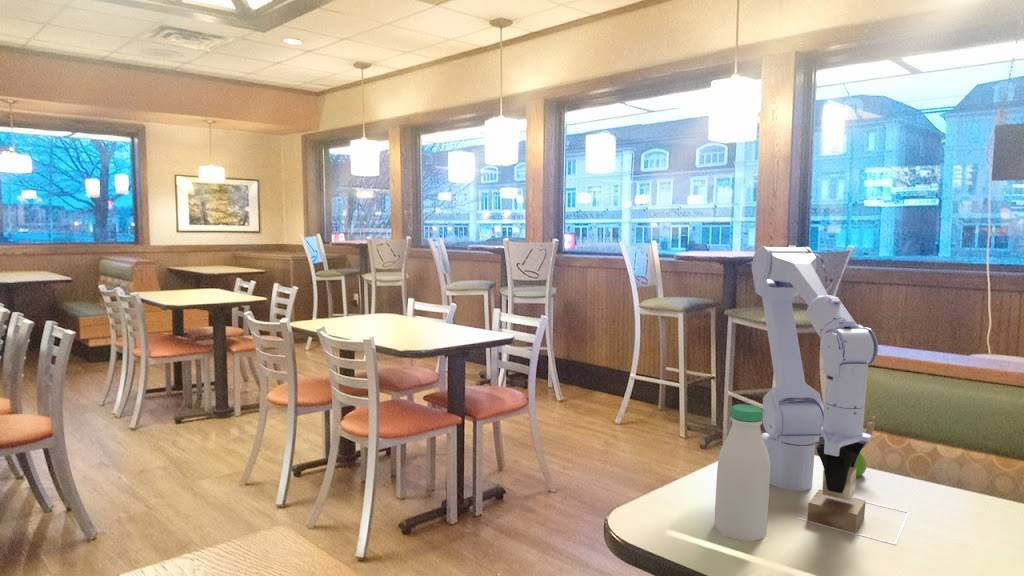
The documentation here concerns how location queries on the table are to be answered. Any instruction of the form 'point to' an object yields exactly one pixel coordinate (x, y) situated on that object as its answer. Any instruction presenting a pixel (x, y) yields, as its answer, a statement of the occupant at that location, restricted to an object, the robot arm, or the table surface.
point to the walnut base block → (836, 512)
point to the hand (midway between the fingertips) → (838, 486)
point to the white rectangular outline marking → (875, 538)
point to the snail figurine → (861, 460)
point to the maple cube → (848, 488)
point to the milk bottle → (743, 478)
